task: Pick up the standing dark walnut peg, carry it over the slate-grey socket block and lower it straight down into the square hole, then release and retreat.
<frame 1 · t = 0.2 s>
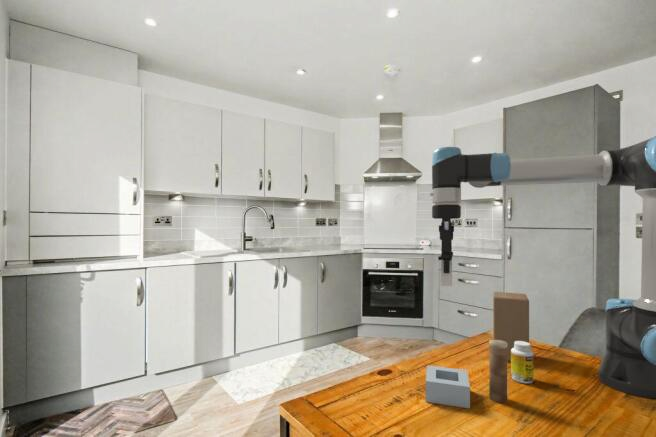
hand: (446, 281, 98), 27 cm above the table, fingers open, 13 cm apart
socket block: (447, 395, 89), on the table
wooden block: (510, 357, 116), on the table
peg: (498, 399, 88), on the table
supplement bottle: (522, 380, 98), on the table
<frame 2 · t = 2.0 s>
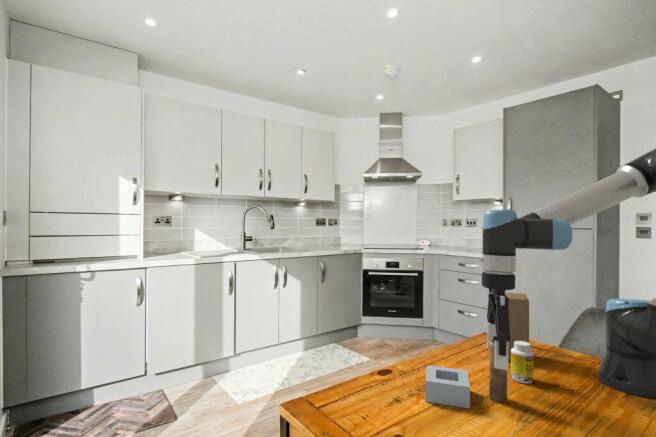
hand: (496, 358, 88), 10 cm above the table, fingers open, 13 cm apart
nothing on the table moved.
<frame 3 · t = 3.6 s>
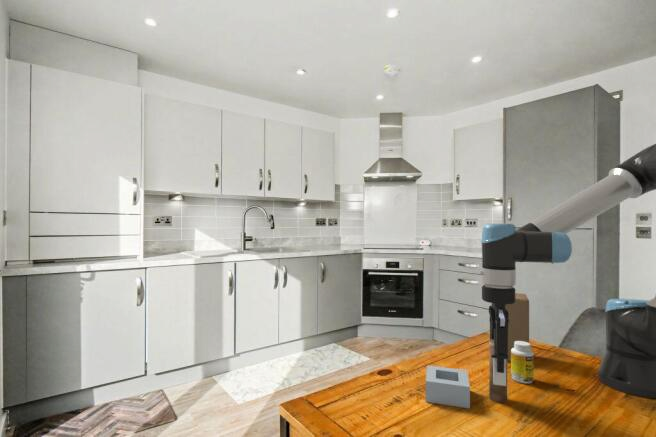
hand: (498, 380, 88), 5 cm above the table, fingers closed on peg, 4 cm apart
peg: (498, 399, 88), on the table, touching gripper
everything else where it was.
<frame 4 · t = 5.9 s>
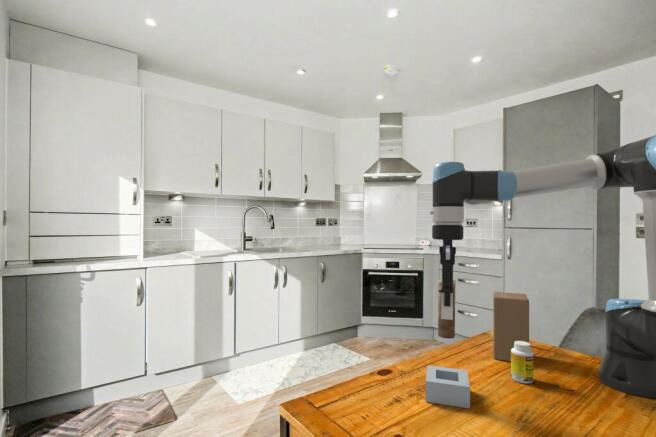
hand: (446, 316, 90), 20 cm above the table, fingers closed on peg, 4 cm apart
peg: (446, 335, 90), point 15 cm above the table, touching gripper
everything else where it was.
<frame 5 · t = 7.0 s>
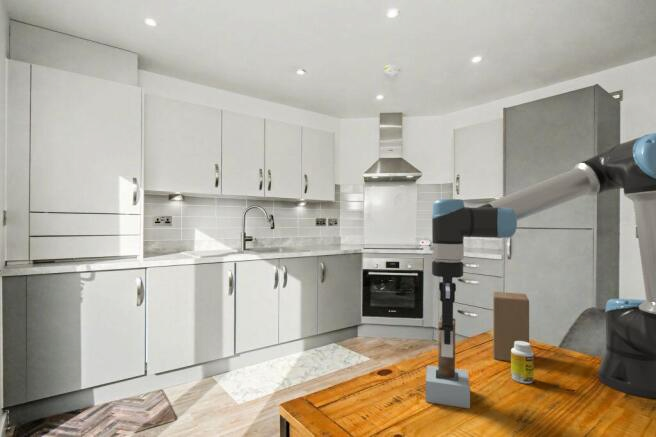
hand: (446, 352, 89), 11 cm above the table, fingers closed on peg, 4 cm apart
peg: (446, 374, 89), point 5 cm above the table, touching gripper
everything else where it was.
when the fingers open (7 cm above the table, at t = 8.0 s): peg drops 1 cm, resting in socket block.
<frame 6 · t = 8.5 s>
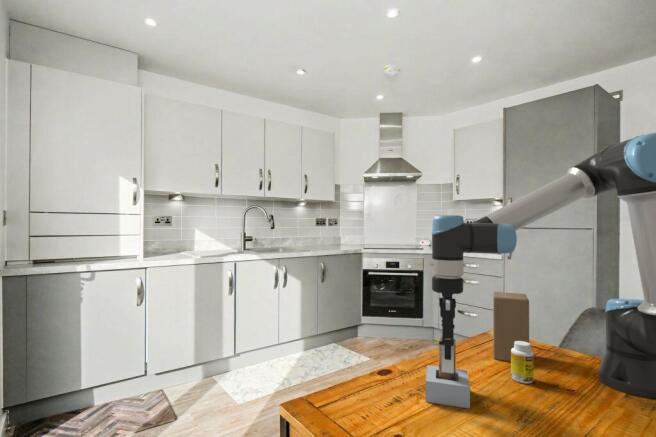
hand: (447, 362, 89), 8 cm above the table, fingers open, 12 cm apart
peg: (447, 395, 89), resting in socket block
everything else where it was.
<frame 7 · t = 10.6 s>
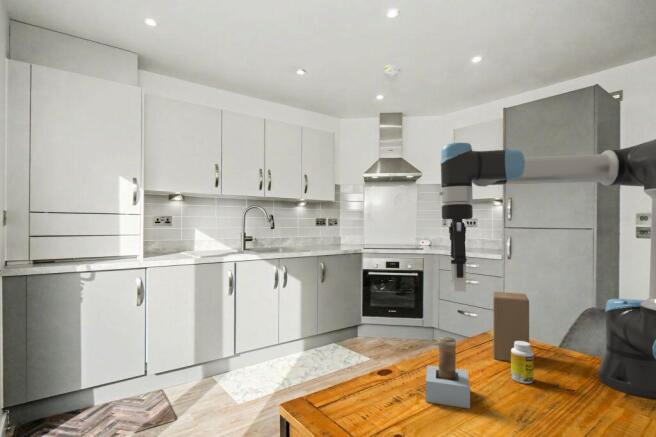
hand: (458, 286, 92), 27 cm above the table, fingers open, 13 cm apart
nothing on the table moved.
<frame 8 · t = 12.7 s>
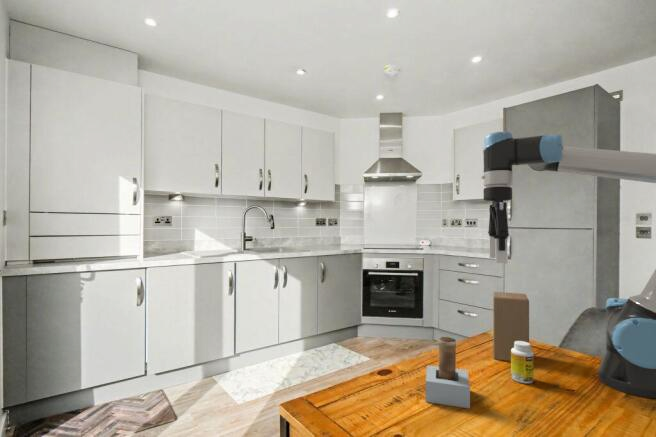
hand: (497, 260, 103), 33 cm above the table, fingers open, 13 cm apart
nothing on the table moved.
at the end: peg 0.1 cm off-centre on the socket block, point 0.0 cm above the socket block's base; peg tilted 0°; the gripper is holding nothing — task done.
